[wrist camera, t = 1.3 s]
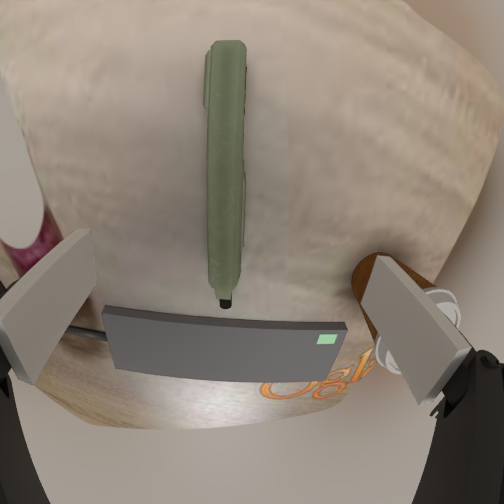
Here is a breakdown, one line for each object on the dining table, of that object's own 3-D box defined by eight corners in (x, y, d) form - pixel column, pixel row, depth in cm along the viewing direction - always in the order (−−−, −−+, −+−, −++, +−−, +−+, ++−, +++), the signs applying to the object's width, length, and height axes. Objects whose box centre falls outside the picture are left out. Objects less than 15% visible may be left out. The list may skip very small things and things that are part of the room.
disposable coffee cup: (419, 257, 31) (477, 311, 20) (378, 316, 34) (419, 380, 24) (367, 226, 29) (430, 282, 18) (323, 295, 32) (359, 371, 21)
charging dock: (69, 350, 34) (65, 357, 32) (51, 296, 30) (46, 303, 28) (323, 373, 38) (325, 381, 37) (344, 322, 34) (348, 330, 33)
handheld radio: (250, 61, 21) (241, 300, 32) (213, 60, 21) (212, 299, 32) (252, 40, 15) (241, 340, 26) (204, 40, 15) (206, 339, 26)
